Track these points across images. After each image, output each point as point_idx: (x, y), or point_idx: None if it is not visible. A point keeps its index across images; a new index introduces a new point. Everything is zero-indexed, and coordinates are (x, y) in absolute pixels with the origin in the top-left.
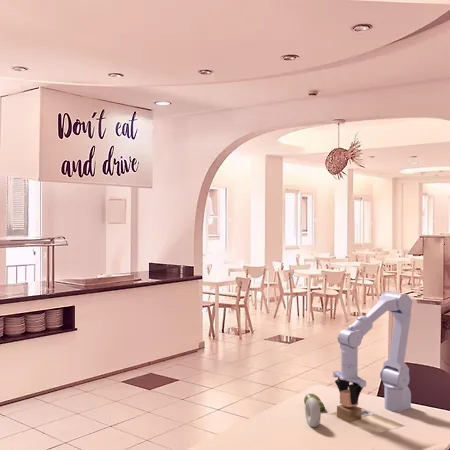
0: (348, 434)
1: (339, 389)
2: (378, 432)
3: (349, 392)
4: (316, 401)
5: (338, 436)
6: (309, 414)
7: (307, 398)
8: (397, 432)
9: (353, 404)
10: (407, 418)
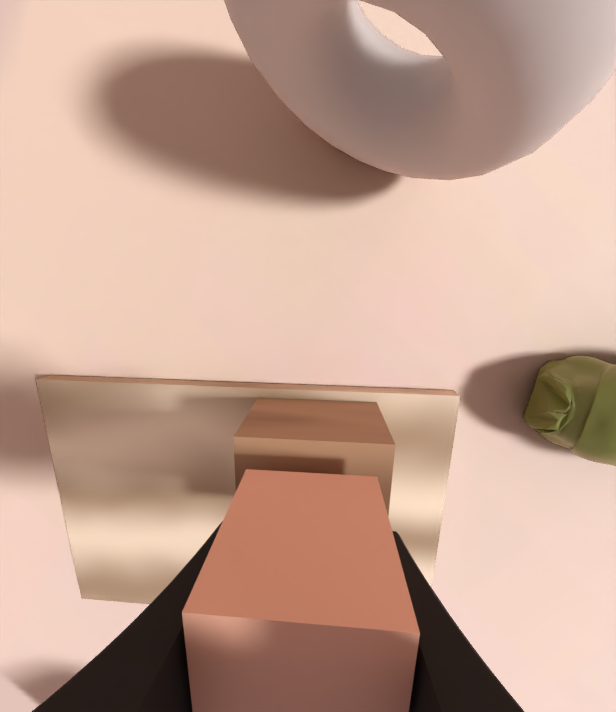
0: (137, 272)
1: (469, 677)
2: (48, 423)
3: (263, 685)
4: None
5: (136, 183)
6: (443, 61)
7: None
8: (57, 518)
9: (219, 527)
10: None
